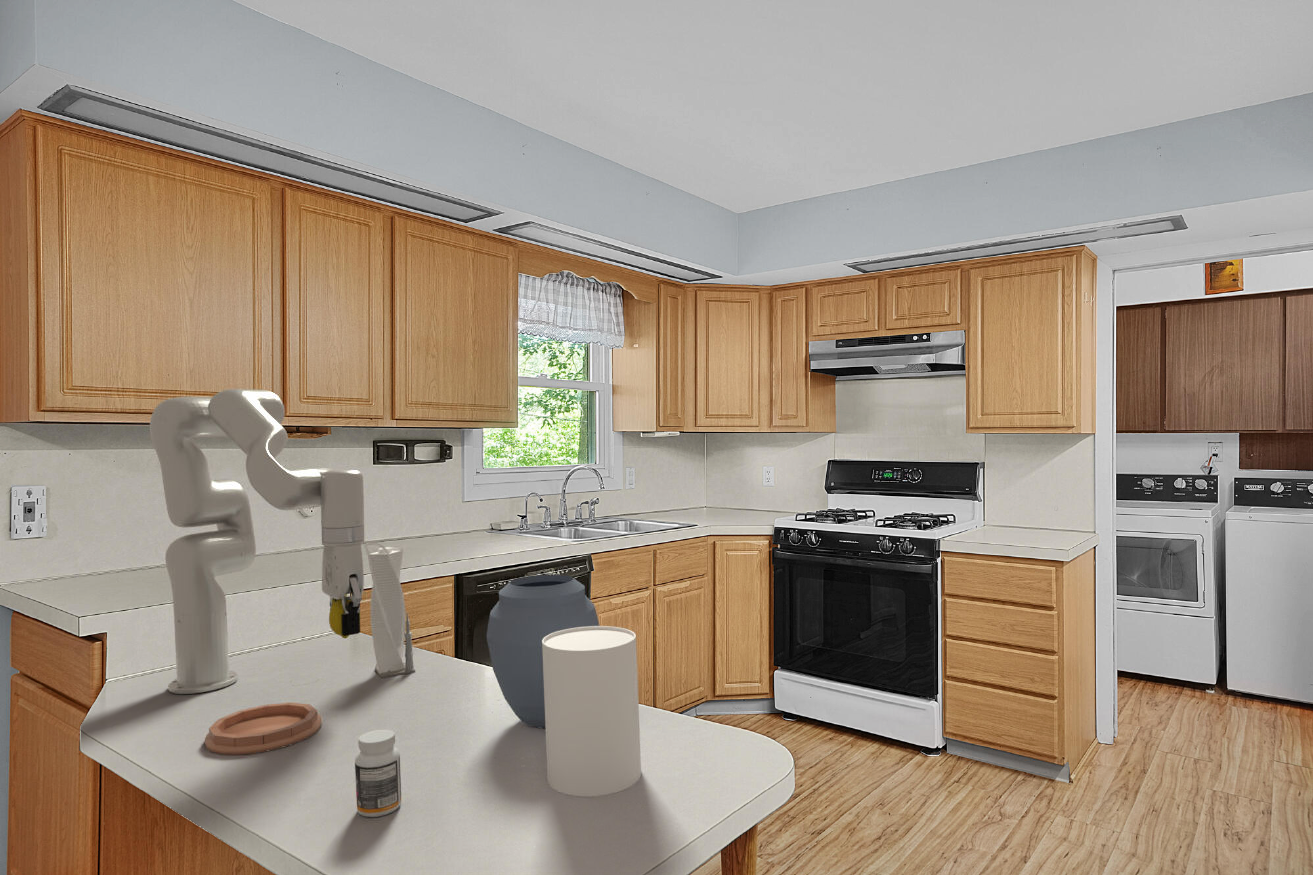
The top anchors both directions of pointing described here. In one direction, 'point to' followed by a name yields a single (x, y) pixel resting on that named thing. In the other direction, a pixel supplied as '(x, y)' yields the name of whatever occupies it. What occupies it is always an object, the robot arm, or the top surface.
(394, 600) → the skyscraper
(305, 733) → the dish
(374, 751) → the pill bottle
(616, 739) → the canister
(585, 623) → the vase
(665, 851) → the top surface
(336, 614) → the lemon
